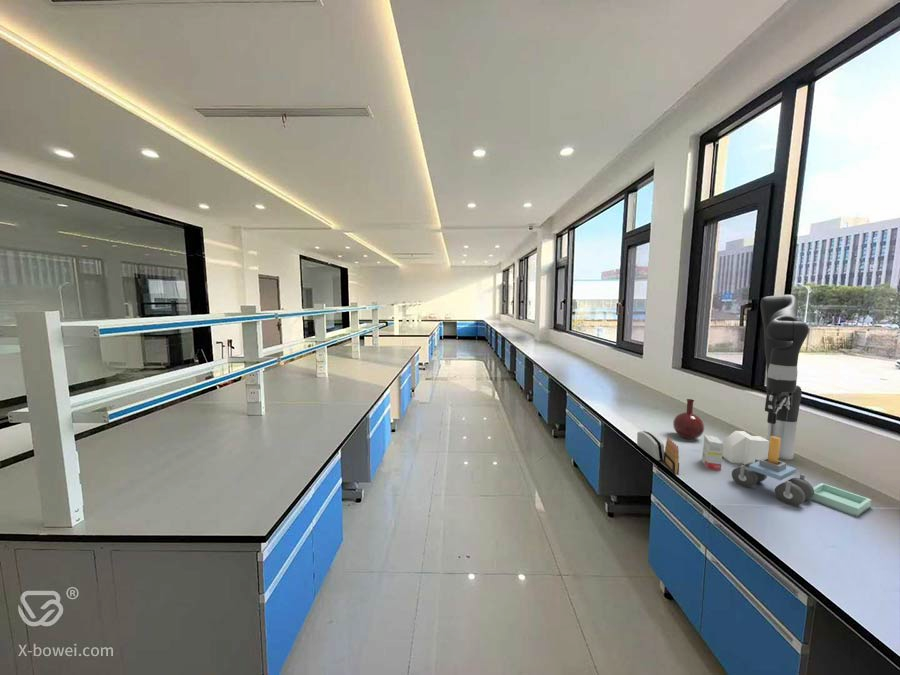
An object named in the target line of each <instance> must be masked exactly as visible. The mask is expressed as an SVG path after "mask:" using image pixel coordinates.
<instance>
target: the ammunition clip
mask: <svg viewBox="0 0 900 675" xmlns="http://www.w3.org/2000/svg"><path fill="white" fill-rule="evenodd" d="M665 442H666V443H665V446H664V460H663V461H662V462H663V464H664V465H665V467H666V468H668V469H669V471H670V472H671V473H672V474H673V475H680V462H679V460H680V456H679V455H680V452H679V450H680V449H679V446H678V445H677V444H676V443H675V442H674V441H673V440H671V438H670V437H668V436H667V439H666V441H665Z"/></svg>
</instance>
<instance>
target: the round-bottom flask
mask: <svg viewBox="0 0 900 675" xmlns="http://www.w3.org/2000/svg"><path fill="white" fill-rule="evenodd" d="M686 402H687V403H686V411H685V412H681V413H678V414H677V415H676V416H675V417H674V419H673V422H672V426H673V429H674V431H675V432H676V433H677V435H678V436H680V437H682V438H683V439H687V440H694V439H699V438H700V437H701V436H702V435H703V433H704V432H705V422H704V421H703V419H702V418H701V417H700V416H699V415H697V414H696V413H693V412H694V411H693V410H694V402H695V399H692V398H691V399H689V398H687V399H686Z"/></svg>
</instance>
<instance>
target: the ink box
mask: <svg viewBox="0 0 900 675" xmlns="http://www.w3.org/2000/svg"><path fill="white" fill-rule="evenodd" d="M722 452H723V441H721V440H720V438H719V437H718V436H715V435H707V434H704V435H703V445H702V458H701V461H702V463H703V464H704V466H705V467H706V468H707V469H709V470H715V471H721V470H722V462H723V460H722V459H723V456H722Z"/></svg>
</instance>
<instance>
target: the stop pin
mask: <svg viewBox="0 0 900 675" xmlns="http://www.w3.org/2000/svg"><path fill="white" fill-rule="evenodd" d="M780 441H781V438H779V437H775V436H770V443H769V453H768V462H770V463H773V464H776V465H778V461H780V460H779V459H780V458H779V451H780Z"/></svg>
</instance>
